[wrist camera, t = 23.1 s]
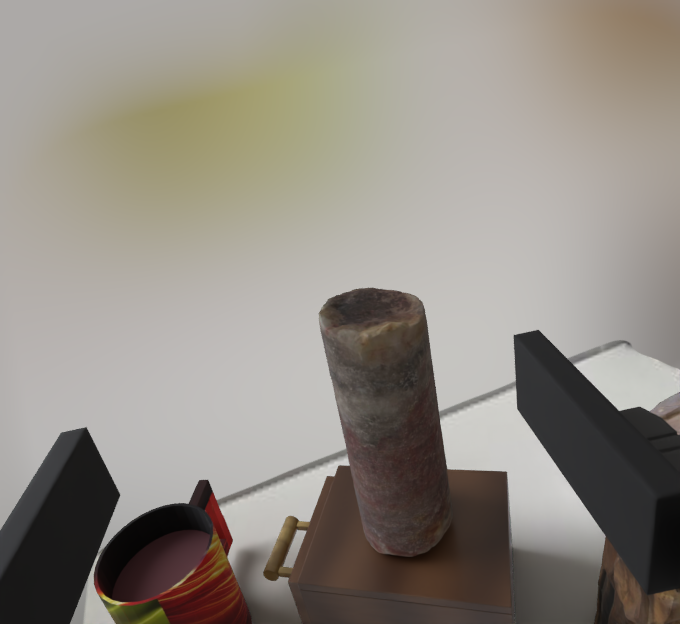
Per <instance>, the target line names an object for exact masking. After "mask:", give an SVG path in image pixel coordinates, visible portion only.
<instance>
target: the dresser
mask: <svg viewBox="0 0 680 624" xmlns="http://www.w3.org/2000/svg"><path fill="white" fill-rule="evenodd" d="M447 473H448V481H449V487H450V495H451V502H452V511H453V517H452V520H451V523H450V526H449V528H448V529H447V531H446V532H445V533H444V535H443V537H442V538H441V540H440V541H439V542H438V543H437V544H436V545H435V546H434V547H431V549H430V550H429V551H427V552H425V553H422V554H418V555H416V556H413V557H405V556H398V555H391V554H382V553H379V552H378V551H376V550H375V549H374V548H373V547H372V546H371V545H370V543H369V542H368V541H367V539H366V536H365V533H364V529H363V525H362V520H361V516H360V511H359V506H358V502H357V498H356V493H355V488H354V483H353V477H352V474H351V469H350V466H338V469H337V471H336V474H335V477H334V480H333V483H332V486H331V488H330V491H329V494H328V497H327V500H326V503H325V505H324V508H323V511H322V514H321V517H320V520H319V522H318V525H317V528H316V531H315V534H314V537H313V539H312V542H311V545H310V548H309V551H308V554H307V557H306V559H305V562H304V565H303V568H302V571H301V574H300V576H299V579H298V582H297V584H298V587H299V590H300V593H301V596H302V599H303V602H304V605H305V608H306V611H307V614H308V617H309V620H310V622H311V624H515V600H514V575H513V551H512V535H511V521H510V507H509V493H508V479H507V472H502V471H475V470H448V469H447Z"/></svg>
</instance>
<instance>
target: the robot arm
mask: <svg viewBox="0 0 680 624" xmlns="http://www.w3.org/2000/svg"><path fill="white" fill-rule="evenodd" d="M514 350H515V370H516V391H517V409H518V410H519V412H520V413H521V415H522V416H523V418H524V419H525V421H526V422H527V423H528V425H529V426H530V428H531V429H532V431H533V432H534V433H535V435H536V436H537V438H538V439H539V441H540V442H541V444H542V445H543V446H544V448H545V449H546V451H547V452H548V454H549V455H550V457H551V458H552V459H553V461H554V462H555V464H556V465H557V467H558V468H559V469H560V471H561V472H562V474H563V475H564V477H565V478H566V480H567V481H568V482H569V484H570V485H571V487H572V488H573V490H574V491H575V492H576V494H577V495H578V497H579V498H580V500H581V501H582V503H583V504H584V505H585V507H586V508H587V510H588V511H589V513H590V514H591V515H592V517H593V518H594V520H595V521H596V523H597V524H598V526H599V527H600V528H601V530H602V531H603V533H604V534H605V536H606V537H607V538H608V540H609V541H610V543H611V544H612V546H613V547H614V549H615V550H616V551H617V553H618V554H619V556H620V557H621V559H622V560H623V561H624V563H625V564H626V566H627V567H628V569H629V570H630V572H631V573H632V574H633V576H634V577H635V579H636V580H637V582H638V583H639V585H640V586H641V587H642V589H643V590H644V592H645V593H646V595H651V594H656V593H660V592H665V591H670V590H674V589H679V588H680V435H678V434H677V431H676V430H675V429H673V428H672V427H671V426H670V425H669V424H668V423H667V422H666V421H665V420H664V419H663V418H661V417H660V416H657V415H655V414H653V413H651V412H649V411H647V410H645V409H643V408H641V407H636V408H631V409H627V410H622V411H618V410H617V409H616V408H615V406H614V405H613V404H612V403H611V402H610V401H609V400H608V399H607V398H606V397H605V396H604V395H603V394H602V393H601V392H600V391H599V390H598V389H597V388H596V387H595V386H594V385H593V384H592V383H591V382H590V381H589V380H588V379H587V378H586V377H585V376H584V375H583V374H582V373H581V372H580V371H579V370H578V369H577V368H576V367H575V366H574V365H573V364H572V363H571V362H570V361H569V360H568V359H567V358H566V357H565V356H564V355H563V354H562V353H561V352H560V351H559V350H558V349H557V348H556V347H555V346H554V345H553V344H552V343H551V342H550V341H549V340H548V339H547V338H546V337H545V336H544V335H543V334H542V333H541V332H540V331H539V330H536V331H531V332H527V333H522V334H517V335H514ZM119 497H120V494H119V492H118V489H117V487H116V485H115V484H114V481H113V480H112V477H111V475H110V474H109V471H108V469H107V467H106V465H105V464H104V461H103V460H102V458H101V456H100V454H99V451H98V450H97V447H96V445H95V443H94V442H93V440H92V437H91V436H90V433H89V432H88V430H87V428H81V429H76V430H72V431H67V432H62V433H61V434H60V436H59V437H58V439H57V441H56V442H55V444H54V445H53V447H52V448H51V450H50V452H49V453H48V455H47V456H46V458H45V460H44V461H43V463H42V465H41V466H40V468H39V469H38V471H37V473H36V474H35V476H34V477H33V479H32V480H31V482H30V484H29V485H28V487H27V489H26V490H25V492H24V493H23V495H22V497H21V498H20V500H19V501H18V503H17V505H16V506H15V508H14V510H13V511H12V513H11V514H10V516H9V517H8V519H7V521H6V522H5V524H4V525H3V527H2V529H1V530H0V624H70V622H71V619H72V617H73V614H74V612H75V609H76V607H77V604H78V602H79V599H80V597H81V594H82V591H83V589H84V586H85V584H86V581H87V579H88V576H89V573H90V571H91V568H92V566H93V563H94V561H95V558H96V556H97V553H98V550H99V548H100V545H101V543H102V540H103V538H104V535H105V532H106V530H107V527H108V525H109V522H110V520H111V517H112V515H113V512H114V509H115V507H116V504H117V502H118V499H119Z"/></svg>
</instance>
